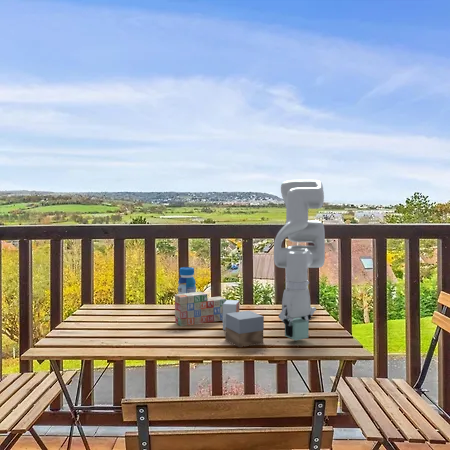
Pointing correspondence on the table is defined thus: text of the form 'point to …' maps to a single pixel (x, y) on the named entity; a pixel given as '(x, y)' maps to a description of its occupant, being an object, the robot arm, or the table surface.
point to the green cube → (299, 329)
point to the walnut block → (243, 337)
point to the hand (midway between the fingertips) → (296, 334)
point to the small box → (229, 309)
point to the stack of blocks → (197, 308)
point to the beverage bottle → (186, 281)
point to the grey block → (244, 322)
